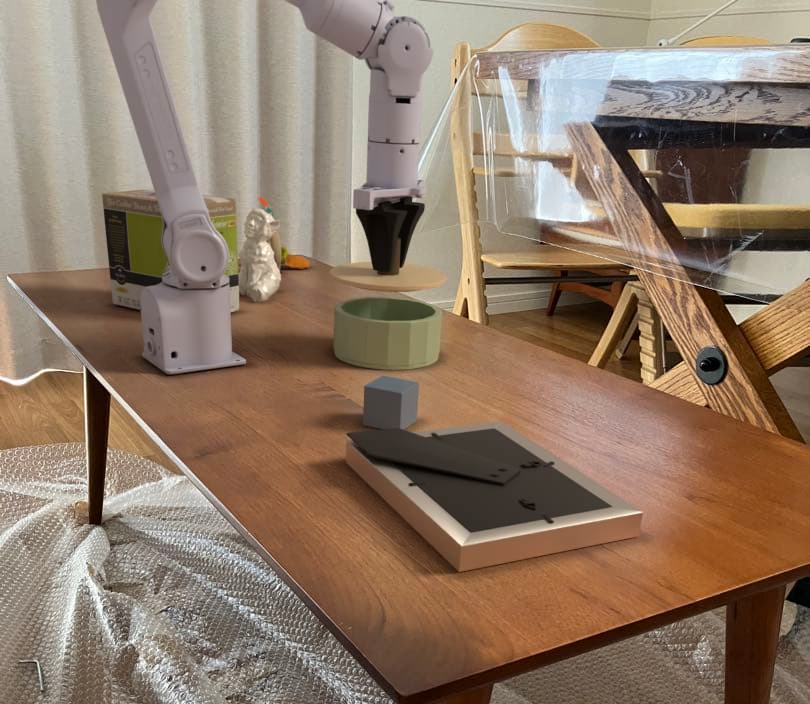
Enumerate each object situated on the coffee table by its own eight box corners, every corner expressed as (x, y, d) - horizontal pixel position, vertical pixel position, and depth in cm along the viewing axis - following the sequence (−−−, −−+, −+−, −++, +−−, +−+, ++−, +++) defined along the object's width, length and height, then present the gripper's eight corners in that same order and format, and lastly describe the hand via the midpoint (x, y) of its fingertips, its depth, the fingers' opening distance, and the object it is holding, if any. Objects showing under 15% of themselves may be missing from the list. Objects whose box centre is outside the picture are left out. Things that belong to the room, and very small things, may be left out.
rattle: (311, 275, 149) (311, 201, 143) (260, 274, 147) (258, 199, 142) (309, 266, 155) (309, 195, 150) (260, 265, 154) (258, 193, 149)
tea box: (242, 311, 126) (238, 197, 119) (190, 324, 118) (183, 204, 111) (163, 293, 133) (155, 185, 126) (109, 305, 125) (98, 190, 118)
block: (399, 433, 87) (401, 393, 85) (362, 425, 89) (363, 385, 87) (417, 421, 90) (419, 382, 89) (380, 413, 92) (382, 375, 90)
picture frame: (345, 462, 80) (458, 572, 64) (346, 432, 79) (462, 536, 62) (499, 441, 86) (638, 536, 70) (502, 413, 85) (644, 503, 69)
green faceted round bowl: (371, 375, 103) (372, 327, 100) (315, 347, 112) (315, 302, 109) (459, 361, 109) (462, 315, 107) (399, 335, 118) (401, 293, 116)
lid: (370, 300, 99) (372, 251, 96) (308, 275, 108) (308, 230, 106) (468, 290, 106) (472, 244, 104) (402, 267, 116) (404, 225, 113)
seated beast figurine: (211, 292, 135) (207, 206, 129) (251, 283, 141) (249, 201, 136) (258, 303, 130) (256, 215, 125) (298, 294, 136) (298, 209, 131)
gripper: (397, 148, 93) (391, 283, 99) (452, 142, 105) (443, 263, 111) (336, 142, 95) (334, 275, 102) (397, 137, 107) (391, 256, 113)
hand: (388, 268), depth 106 cm, fingers closed on lid, 2 cm apart
